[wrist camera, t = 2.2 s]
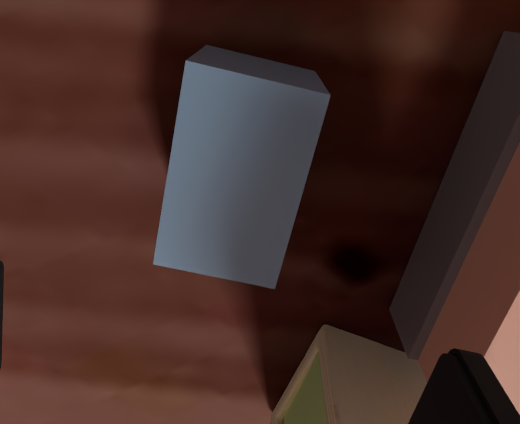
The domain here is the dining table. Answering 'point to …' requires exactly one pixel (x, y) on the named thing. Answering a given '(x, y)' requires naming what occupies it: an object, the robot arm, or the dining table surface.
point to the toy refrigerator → (351, 383)
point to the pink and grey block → (472, 240)
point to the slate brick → (238, 165)
